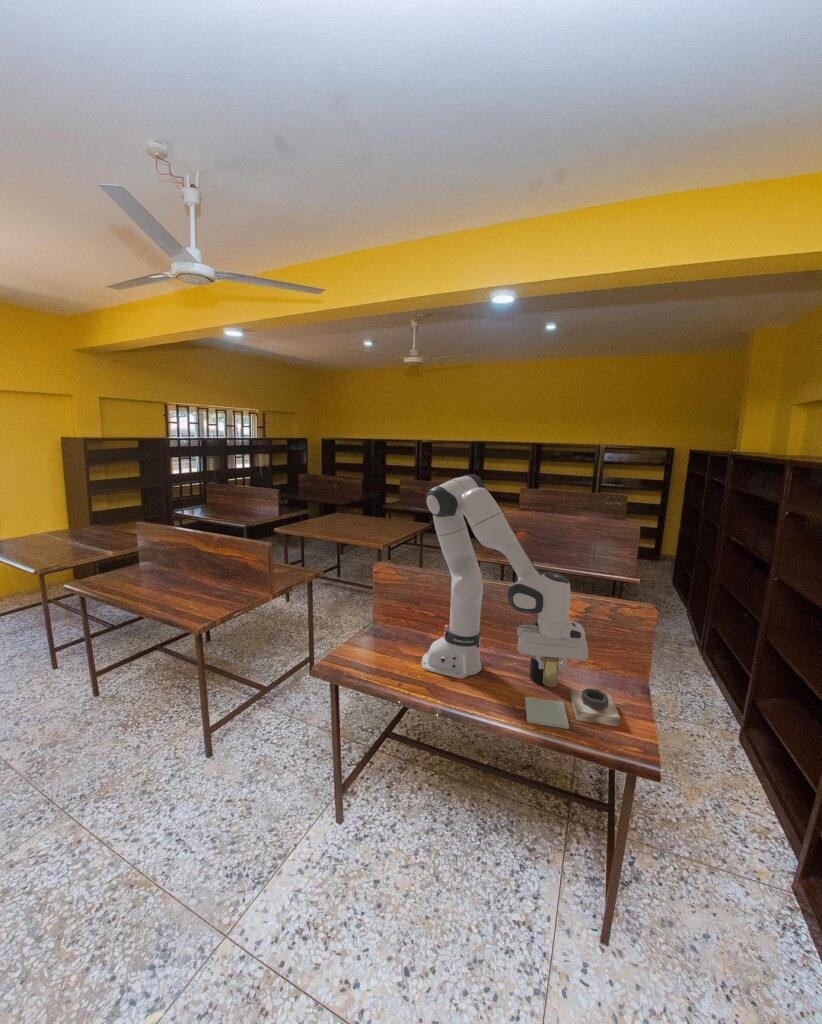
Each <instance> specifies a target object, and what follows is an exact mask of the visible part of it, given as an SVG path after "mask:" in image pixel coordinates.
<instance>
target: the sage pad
mask: <svg viewBox="0 0 822 1024" xmlns="http://www.w3.org/2000/svg"><path fill="white" fill-rule="evenodd" d="M524 702H525V703H524V704H525V715H526V716H525V717H526V723H528V724H533V725H534V724H535V725H541V726H547V727H552V728H553V727H554V728H561V729H566V730H569V729H570V724H569V719H568V716H567V711H566V708H565V707H566V706H565V703H564V701H560V700H559V701H558V700H550V699H545V698H544V699H543V698H538V697H537V698H536V697H530V696H525V697H524Z"/></svg>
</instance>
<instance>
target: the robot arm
mask: <svg viewBox="0 0 822 1024" xmlns="http://www.w3.org/2000/svg"><path fill="white" fill-rule="evenodd" d="M425 505H426V507H427V510H428V511H429V512H430V514H432V518H433V523H434V524H433V525H434V530H435V532H436V536H437V539H438V542H439V545H440V548H441V549H440V550H441V552H442V556H443V558H444V559H445V562H446V565H447V567H448V570H449V573H450V576H451V577H450V578H451V585H450V587H451V588H450V608H449V609H450V610H449V624H445V625H444V627H443V636H442V637H440V638H438V639H436V640H435V641H433V642H432V643H431V645H430V647H429V649H428V651H426V653H424V655H423V656H422V659H421V662H420V663H421V667H422V670H424V671H428V672H432V673H435V674H440V675H443V676H448V677H451V678H455V679H461V680H462V679H465V678H466V677H468V676H469V677H470V676H474V675H476V674H478V673H479V672H481V671H482V668H483V666H482V662H481V656H480V647H481V646H480V645H481V638H482V637H481V631H480V624H481V609H482V600H483V592H484V583H483V577H482V571H481V569H480V566H479V565H480V564H479V562H478V559H477V555H476V552H475V549H474V547H473V543H472V540H471V538H470V534H469V530H468V527H467V524H466V523H467V522H468V525H469V527H470V529H471V531H472V533H473V535H474V537H475V538H476V539H477V541H478V542H479V543H480V544H481V545H482V546H483V547H485V548H489V549H494V550H496V551H498V552H500V553H502V554H503V555H504V556H505V557H506V559H507V560H508V562H509V564H510V565H511V567H512V569H513V570H514V572H515V574H516V576H517V581H515V583H514V584H512V585H511V586H510V587H509V589H508V591H507V594H506V595H507V601H508V604H509V605H510V607H511V608H512V609H513V610H515V611H516V612H518V613H520V614H521V613H523V614H538V617H537V618H538V619H537V623H538V625H534V624H528V623H522V624H520V625H519V626H518V627H517V629H516V634H517V637H518V641H517V652H518V653H519V654H520V655H528V656H531V655H535V656H536V659H537V661H538V663H539V669H544V662H542V661H541V660H540V659H541V656H544V657H553V658H558V659H561V661H560V663H559V662H558V671H557V672H563V671H564V667H565V666H566V664H567V663H568V660H573V661H574V660H575V661H581V662H585V661H586V660H588V658H589V648H588V642H587V639H586V632H585V629H584V627H583V625H582V624H580V623H578V622H576V621H573V620H571V619H570V615H569V610H570V608H571V594H572V593H571V584H570V581H569V580H568V578H567V577H565V576H564V575H563V574H560V573H558V572H553V571H552V572H551V571H547V572H544V573H543V572H541V571H540V570H539V569H538V568H537V567H536V565H534V563H533V561H532V560H531V558H530V557H529V555H528V553H527V551H526V550H525V549H524V546H523V545H522V544H521V542H520V540H519V539H518V538H517V536H516V534H515V533H514V531H513V529H512V528H511V526H510V525H509V523H508V520H507V518H506V516H505V515H504V513H503V510H501V508H500V506H499V503H497V501H496V499H494V497H493V496H492V495H491V493H490V492H489V491H488V490H487V489H486V486H485V484H484V480H482V478H481V477H480V476H478V475H477V474H465V475H463V476H459V477H454V478H452V479H449V480H448V481H446V482H444V483H442V484H439V485H436V486H434V487H432V488H430V490H428V491H427V493H426V496H425ZM464 517H465V518H464ZM465 519H466V520H467V522H466V521H465ZM537 628H538V629H537Z"/></svg>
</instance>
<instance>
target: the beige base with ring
mask: <svg viewBox="0 0 822 1024" xmlns="http://www.w3.org/2000/svg"><path fill="white" fill-rule="evenodd" d="M570 691H571V692H570V701H571V704H572V705H571V706H572V708H573V711H574V715H575V719H576V721H579V722H580V721H581V722H587V723H592V724H593V723H594V724H599V725H606V726H612V727H620V724H621V723H620V722H621V716H620V714H619V712H618V710H617V707H616V705H615V703H614V700H613V698H612V696H611V694H607V693H605V692H603V691H602V690H599V689H594V688H585V689H583V690H581V689H580V690H578V689H571V690H570Z"/></svg>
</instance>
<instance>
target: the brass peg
mask: <svg viewBox="0 0 822 1024" xmlns="http://www.w3.org/2000/svg"><path fill="white" fill-rule="evenodd" d="M558 663H559V658H553V657H544V673H543V684H544V685H543V686H546V687H550V688H554V687H556V686H557V684H558V672H559V671H558Z"/></svg>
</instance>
